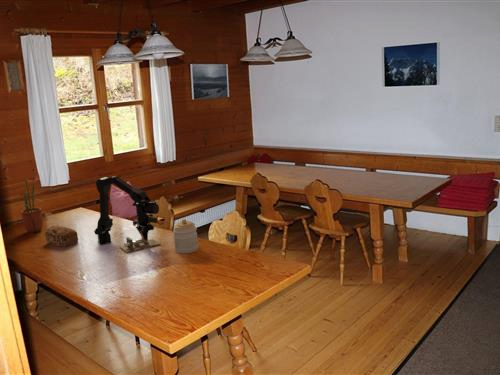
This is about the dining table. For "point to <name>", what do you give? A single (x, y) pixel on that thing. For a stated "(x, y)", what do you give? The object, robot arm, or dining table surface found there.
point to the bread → (61, 236)
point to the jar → (185, 237)
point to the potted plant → (31, 213)
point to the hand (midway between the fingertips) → (144, 239)
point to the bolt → (137, 241)
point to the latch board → (139, 245)
